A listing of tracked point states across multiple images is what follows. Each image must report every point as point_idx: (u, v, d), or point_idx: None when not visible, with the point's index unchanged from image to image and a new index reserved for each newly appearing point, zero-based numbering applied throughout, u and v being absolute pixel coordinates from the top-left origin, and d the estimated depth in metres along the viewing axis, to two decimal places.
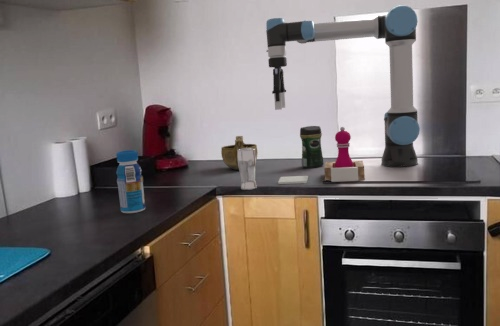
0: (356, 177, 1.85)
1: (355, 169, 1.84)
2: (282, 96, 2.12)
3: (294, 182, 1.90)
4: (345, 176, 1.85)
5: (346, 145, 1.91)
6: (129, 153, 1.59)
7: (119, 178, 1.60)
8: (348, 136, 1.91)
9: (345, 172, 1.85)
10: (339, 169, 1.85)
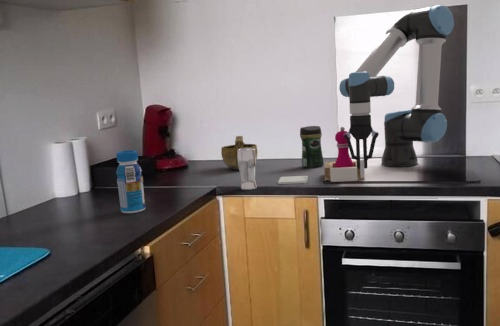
0: (355, 177, 1.85)
1: (354, 169, 1.84)
2: None
3: (294, 182, 1.90)
4: (344, 176, 1.85)
5: (346, 145, 1.91)
6: (129, 153, 1.59)
7: (119, 178, 1.60)
8: None
9: (344, 172, 1.85)
10: (338, 169, 1.85)
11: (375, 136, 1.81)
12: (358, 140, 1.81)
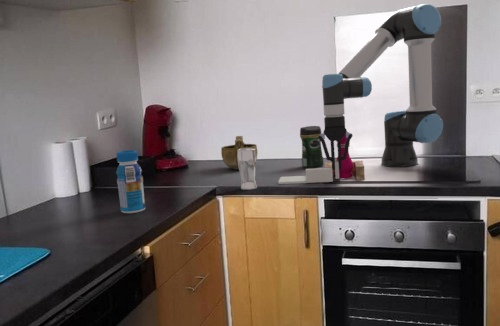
0: (330, 178, 1.86)
1: (329, 170, 1.86)
2: None
3: (294, 182, 1.90)
4: (320, 177, 1.87)
5: None
6: (129, 153, 1.59)
7: (119, 178, 1.60)
8: None
9: (320, 173, 1.87)
10: (314, 170, 1.87)
11: (349, 137, 1.82)
12: (332, 141, 1.83)
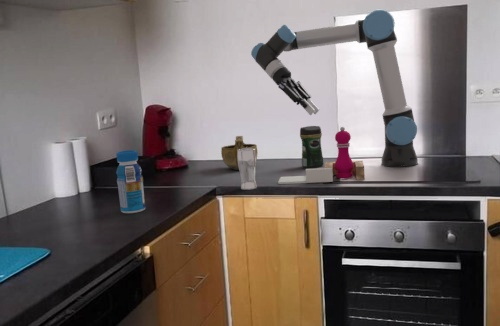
0: (330, 178, 1.86)
1: (329, 170, 1.86)
2: None
3: (294, 182, 1.90)
4: (320, 177, 1.87)
5: (346, 145, 1.91)
6: (129, 153, 1.59)
7: (119, 178, 1.60)
8: (348, 136, 1.91)
9: (320, 173, 1.87)
10: (314, 170, 1.87)
11: None
12: None
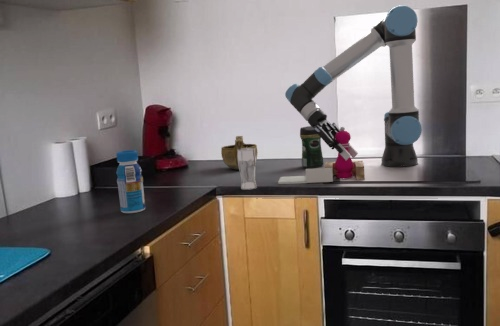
0: (330, 178, 1.86)
1: (329, 170, 1.86)
2: None
3: (294, 182, 1.90)
4: (320, 177, 1.87)
5: (346, 145, 1.91)
6: (129, 153, 1.59)
7: (119, 178, 1.60)
8: (348, 136, 1.91)
9: (320, 173, 1.87)
10: (314, 170, 1.87)
11: None
12: None
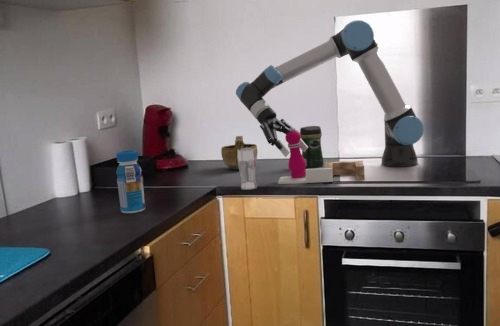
0: (330, 178, 1.86)
1: (329, 170, 1.86)
2: None
3: (294, 182, 1.90)
4: (320, 177, 1.87)
5: (296, 145, 1.94)
6: (129, 153, 1.59)
7: (119, 178, 1.60)
8: (297, 136, 1.93)
9: (320, 173, 1.87)
10: (314, 170, 1.87)
11: None
12: None
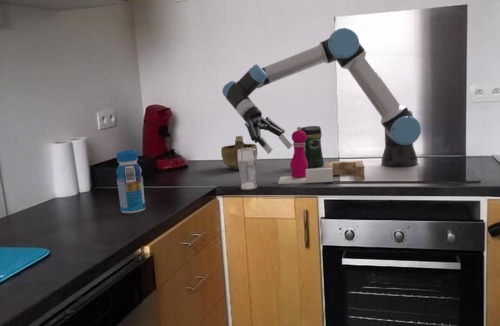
0: (330, 178, 1.86)
1: (329, 170, 1.86)
2: None
3: (294, 182, 1.90)
4: (320, 177, 1.87)
5: (301, 144, 1.95)
6: (129, 153, 1.59)
7: (119, 178, 1.60)
8: (304, 136, 1.94)
9: (320, 173, 1.87)
10: (314, 170, 1.87)
11: None
12: None
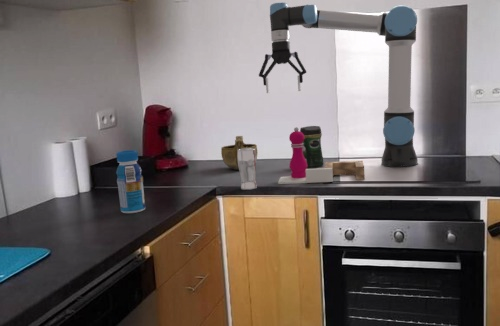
0: (330, 178, 1.86)
1: (329, 170, 1.86)
2: None
3: (294, 182, 1.90)
4: (320, 177, 1.87)
5: (300, 145, 1.94)
6: (129, 153, 1.59)
7: (119, 178, 1.60)
8: (301, 136, 1.94)
9: (320, 173, 1.87)
10: (314, 170, 1.87)
11: None
12: None
